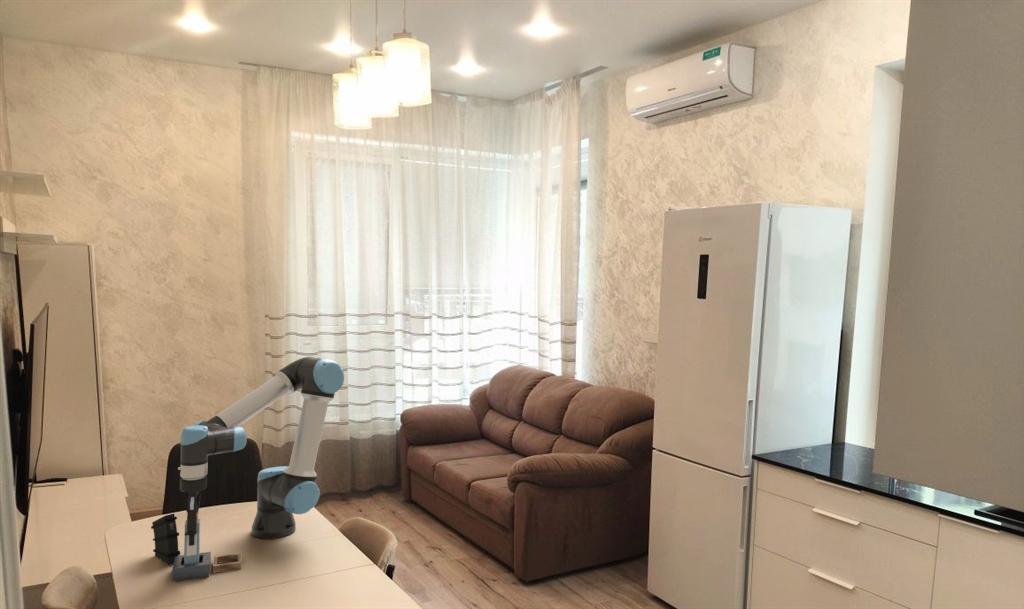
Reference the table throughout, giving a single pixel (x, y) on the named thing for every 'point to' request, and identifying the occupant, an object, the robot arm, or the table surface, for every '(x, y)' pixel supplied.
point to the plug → (195, 558)
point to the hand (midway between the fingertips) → (192, 551)
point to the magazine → (166, 538)
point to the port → (191, 568)
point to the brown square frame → (227, 565)
